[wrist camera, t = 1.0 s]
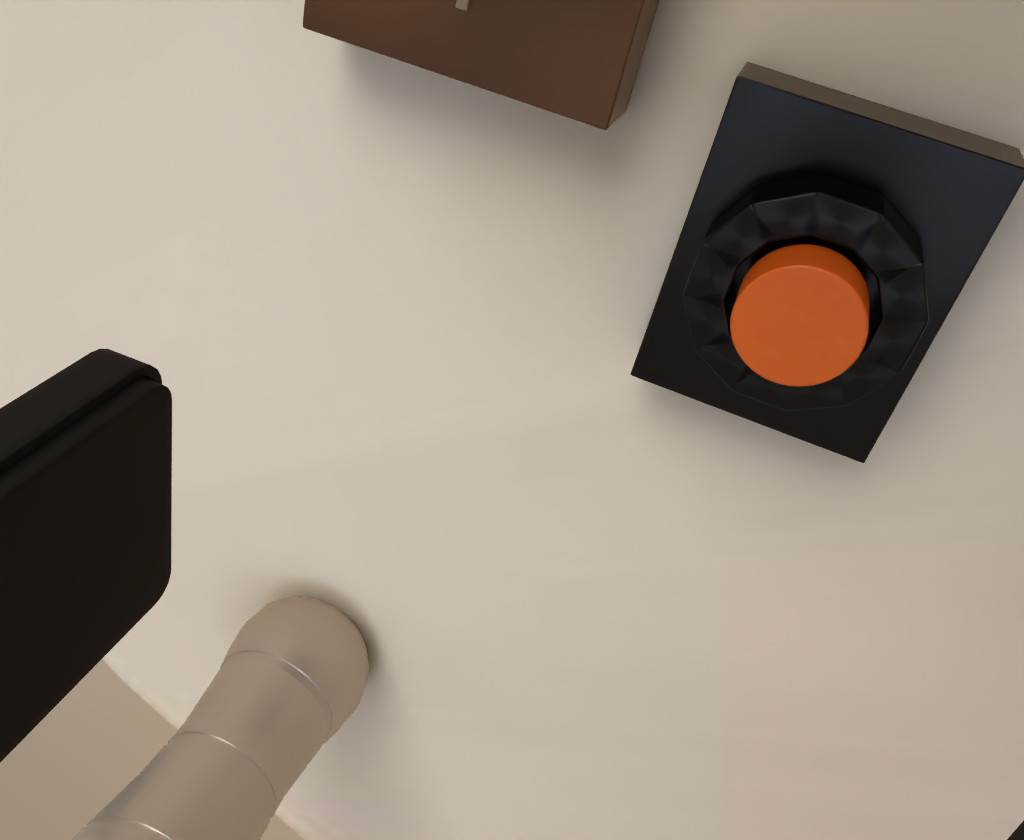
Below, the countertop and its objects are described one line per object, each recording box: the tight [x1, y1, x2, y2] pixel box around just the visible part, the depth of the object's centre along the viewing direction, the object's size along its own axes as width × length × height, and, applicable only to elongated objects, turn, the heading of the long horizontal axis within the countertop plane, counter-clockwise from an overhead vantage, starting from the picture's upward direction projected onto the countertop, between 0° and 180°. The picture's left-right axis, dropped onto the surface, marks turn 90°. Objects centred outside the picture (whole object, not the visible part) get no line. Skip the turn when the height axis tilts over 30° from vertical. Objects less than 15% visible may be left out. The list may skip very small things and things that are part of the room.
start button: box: [730, 244, 870, 387], centre depth 26 cm, size 4×4×2 cm
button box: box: [631, 62, 1024, 463], centre depth 28 cm, size 10×8×4 cm
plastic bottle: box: [72, 596, 369, 840], centre depth 38 cm, size 6×7×20 cm
